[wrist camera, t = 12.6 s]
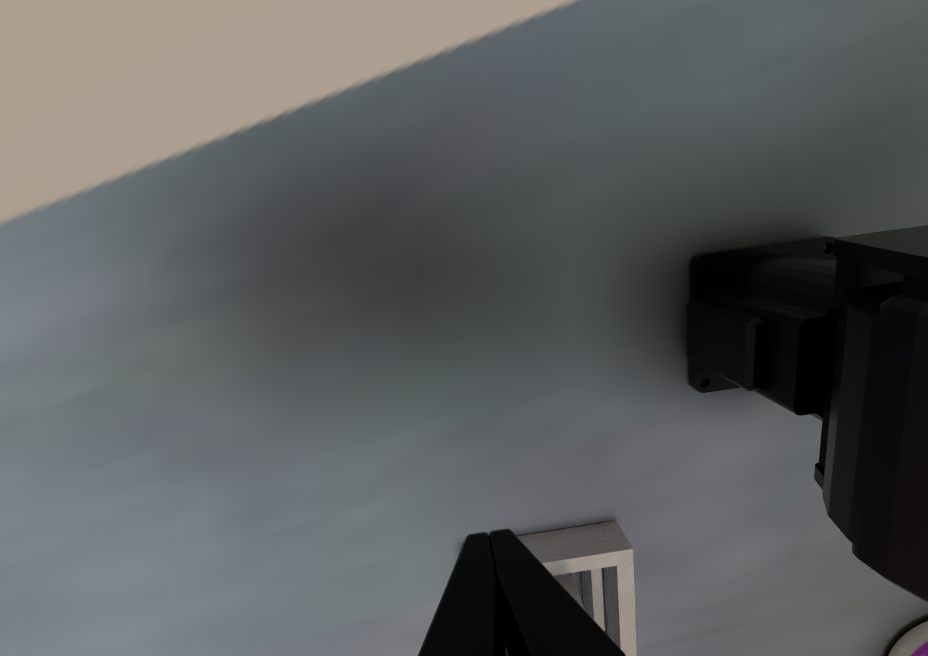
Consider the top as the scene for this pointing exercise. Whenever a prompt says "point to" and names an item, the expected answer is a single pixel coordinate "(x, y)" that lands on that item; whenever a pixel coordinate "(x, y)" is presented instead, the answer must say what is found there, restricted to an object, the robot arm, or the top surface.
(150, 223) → the top surface
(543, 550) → the rack
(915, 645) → the supplement bottle
